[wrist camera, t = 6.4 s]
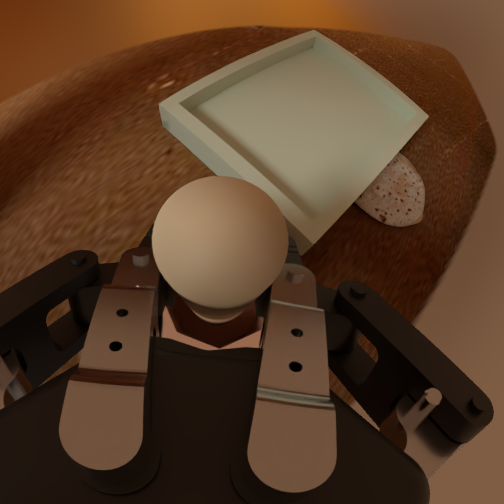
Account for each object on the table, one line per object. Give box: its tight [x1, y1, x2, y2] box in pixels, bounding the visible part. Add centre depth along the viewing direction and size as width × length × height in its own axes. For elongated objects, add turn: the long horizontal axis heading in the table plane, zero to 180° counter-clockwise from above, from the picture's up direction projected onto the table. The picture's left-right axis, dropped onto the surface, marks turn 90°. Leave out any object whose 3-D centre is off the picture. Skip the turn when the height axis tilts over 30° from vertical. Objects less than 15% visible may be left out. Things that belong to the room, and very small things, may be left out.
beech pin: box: [152, 176, 288, 325], centre depth 12 cm, size 3×3×11 cm
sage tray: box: [159, 30, 429, 256], centre depth 21 cm, size 18×14×2 cm
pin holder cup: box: [162, 294, 264, 350], centre depth 16 cm, size 7×7×4 cm
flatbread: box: [354, 152, 425, 227], centre depth 21 cm, size 8×8×1 cm
